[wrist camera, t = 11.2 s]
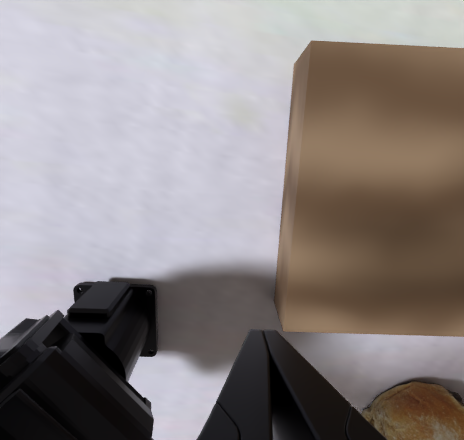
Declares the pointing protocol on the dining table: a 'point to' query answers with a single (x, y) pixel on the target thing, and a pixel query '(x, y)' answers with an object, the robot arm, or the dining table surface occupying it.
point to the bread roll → (417, 413)
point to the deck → (374, 192)
